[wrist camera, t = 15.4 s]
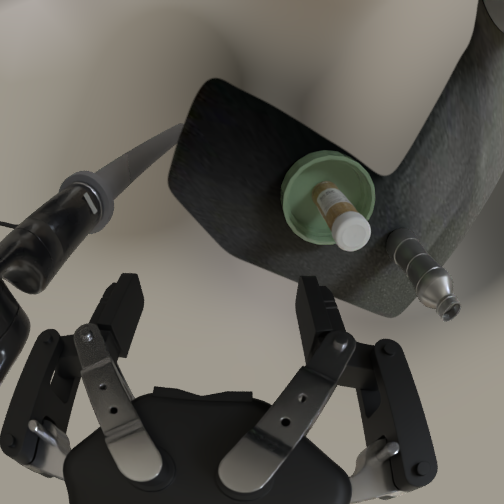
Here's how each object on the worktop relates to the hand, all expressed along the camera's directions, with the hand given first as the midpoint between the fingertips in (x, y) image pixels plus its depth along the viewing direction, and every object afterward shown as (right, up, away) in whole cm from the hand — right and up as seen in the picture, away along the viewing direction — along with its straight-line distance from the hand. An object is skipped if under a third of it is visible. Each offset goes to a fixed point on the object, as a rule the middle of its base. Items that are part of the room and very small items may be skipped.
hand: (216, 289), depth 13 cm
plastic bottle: (+29, +4, +34) cm, 45 cm away
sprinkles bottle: (+13, +11, +28) cm, 33 cm away
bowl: (+13, +11, +29) cm, 34 cm away
